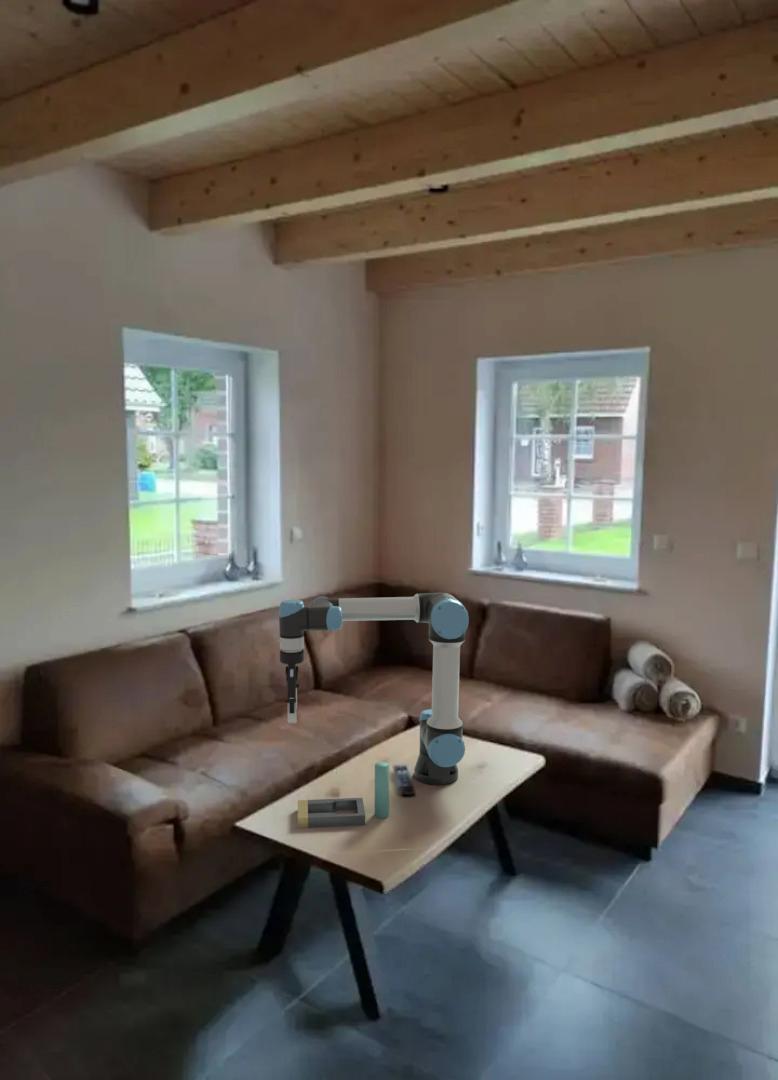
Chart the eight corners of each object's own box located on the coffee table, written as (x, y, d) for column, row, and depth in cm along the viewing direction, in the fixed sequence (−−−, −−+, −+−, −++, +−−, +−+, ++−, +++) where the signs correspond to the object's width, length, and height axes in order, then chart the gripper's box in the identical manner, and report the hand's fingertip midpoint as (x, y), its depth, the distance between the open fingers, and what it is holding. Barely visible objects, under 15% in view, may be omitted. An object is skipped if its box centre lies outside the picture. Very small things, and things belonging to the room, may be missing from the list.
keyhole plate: (362, 806, 246) (362, 797, 246) (365, 824, 234) (365, 815, 234) (298, 809, 244) (297, 800, 244) (297, 828, 232) (297, 818, 232)
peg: (388, 811, 243) (388, 761, 241) (389, 818, 239) (389, 767, 237) (373, 812, 243) (374, 762, 241) (375, 818, 238) (375, 767, 236)
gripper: (281, 640, 258) (281, 702, 260) (278, 660, 233) (279, 729, 236) (304, 639, 259) (304, 702, 261) (303, 659, 234) (304, 728, 236)
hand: (292, 715), depth 248 cm, fingers open, 13 cm apart
